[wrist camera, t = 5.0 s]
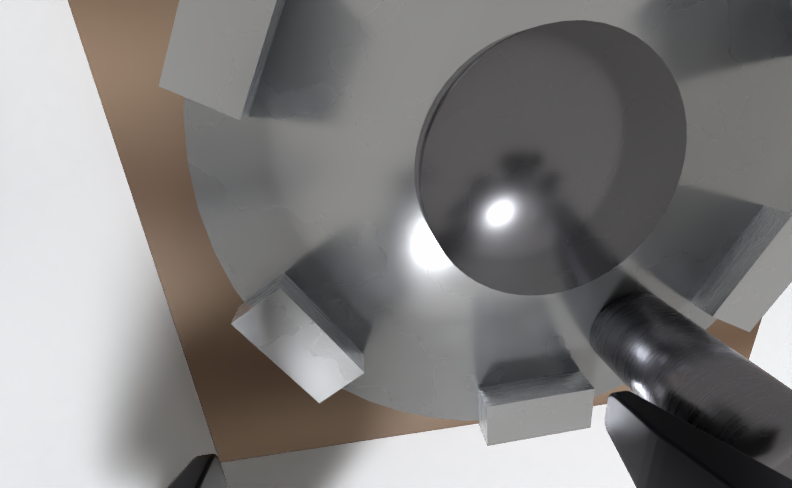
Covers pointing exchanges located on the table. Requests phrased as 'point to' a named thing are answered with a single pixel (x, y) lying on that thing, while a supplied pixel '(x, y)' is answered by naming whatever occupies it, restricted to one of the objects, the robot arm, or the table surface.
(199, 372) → the base plate
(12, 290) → the table surface
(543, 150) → the rotary indexing table
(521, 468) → the table surface
